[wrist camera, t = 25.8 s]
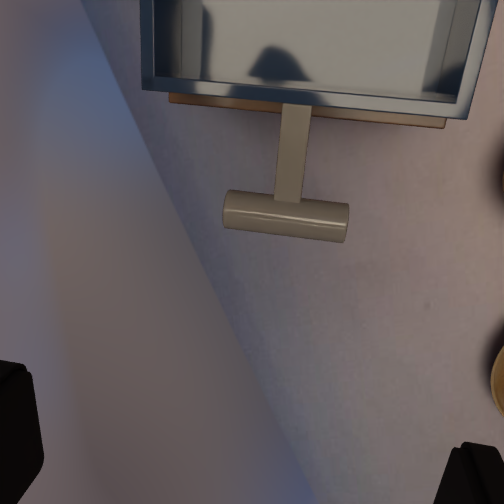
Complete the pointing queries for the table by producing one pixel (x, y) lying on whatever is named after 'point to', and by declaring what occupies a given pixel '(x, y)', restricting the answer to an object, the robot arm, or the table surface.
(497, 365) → the plant saucer
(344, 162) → the table surface
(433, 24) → the blue open box
